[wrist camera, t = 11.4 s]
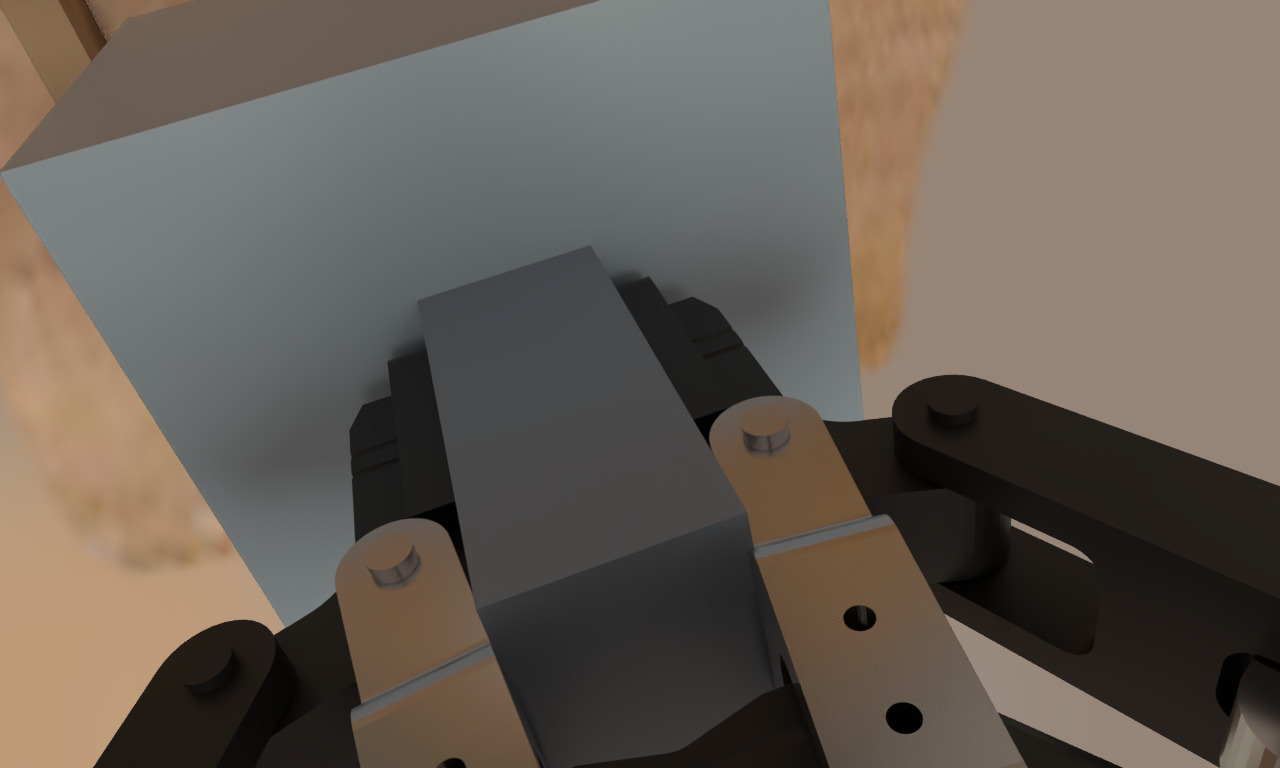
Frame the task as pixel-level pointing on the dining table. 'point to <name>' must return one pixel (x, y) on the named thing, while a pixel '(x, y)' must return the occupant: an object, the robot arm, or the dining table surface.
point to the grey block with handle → (472, 299)
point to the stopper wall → (56, 38)
